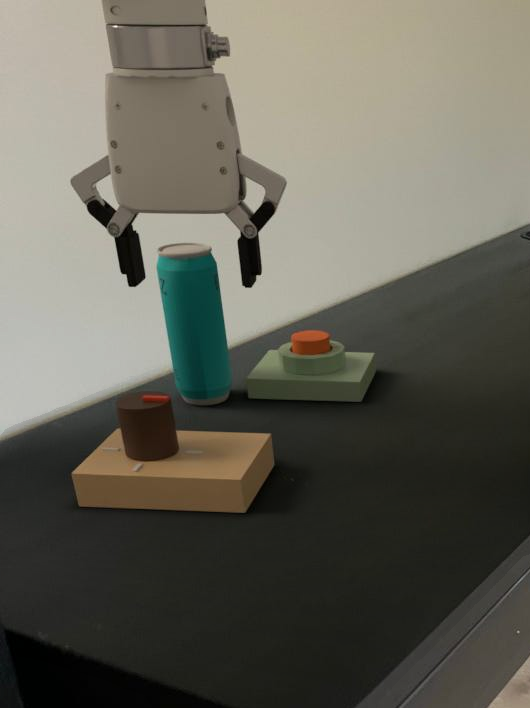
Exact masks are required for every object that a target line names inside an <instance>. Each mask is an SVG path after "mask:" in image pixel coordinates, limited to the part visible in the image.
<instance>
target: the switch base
mask: <svg viewBox="0 0 530 708" xmlns="http://www.w3.org/2000/svg"><path fill="white" fill-rule="evenodd" d="M376 364H377V363H376V353H375V352H360V351H358V352H357V351H346V347H345V345H344V344H342V343H341V342H339V341H335V340H331V339H330V352H327V353H324V354H317V355H300V354H295V353H293V350H292V341H290V342H287V343H284V344H281V345H280V347H279V348H278V349H269V350H268V351H267V353H266V354H265V355H264V356H263V357H262V358H261V360H260V361H259V362H258V363H257V364H256V365H255V367H254V368H253V369H252V371H251V372H250V373H249V374H248V376H247V377H246V378H245V381H246V390H247V397H248V399H252V400H257V399H258V400H287V401H317V402H318V401H319V402H347V403H349V402H350V403H361V402H362V401H363V399H364V397H365V395H366V393H367V391H368V389H369V386H370V384H371V383H372V381H373V380H374V379H373V378H374V376H375V375H376V372H377V368H376V367H377V366H376Z"/></svg>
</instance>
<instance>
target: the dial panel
mask: <svg viewBox="0 0 530 708" xmlns="http://www.w3.org/2000/svg"><path fill="white" fill-rule="evenodd" d="M176 432H177V438H178V444H179V451H178V452H177V453H176V454H174V455H173V456H170V457H168V458H165V459H160V460H154V461H138V460H133V459H130V458H128V457H127V456H126V454H125V449H124V444H123V439H122V434H121V429H120V428H116V429H115V430H114V431H113V432H112V433H111V434H110V435H109V436H108V437H107V438H106V439H105V440H104V441H103V442H102V443H101V444H100V445H99V446H98V447H96V449H94V450H93V452H92V453H90V454H89V456H88V457H86V458H85V459H84V460H83V461H82V462H81V464H79V465H78V466H77V467H76V468H75V469H74V470H73V471H72V472H71V479H72V482H73V487H74V490H75V494H76V495H75V496H76V499H77V504H78V507H83V508H105V509H106V508H107V509H130V510H131V509H133V510H158V511H159V510H160V511H161V510H162V511H181V512H182V511H185V512H212V513H215V512H216V513H238V514H244V513H247V511H248V509H249V507H250V506H251V504H252V503H253V501H254V499H255V498H256V496H257V494H258V493H259V491H260V490H261V488H262V486H263V485H264V483H265V482H266V480H267V478H268V477H269V474H270V473H271V472H272V470H273V469H274V467H275V457H274V447H273V439H272V433H264V432H263V433H261V432H233V431H232V432H231V431H229V432H228V431H203V430H202V431H199V430H176Z"/></svg>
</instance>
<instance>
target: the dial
mask: <svg viewBox="0 0 530 708" xmlns="http://www.w3.org/2000/svg"><path fill="white" fill-rule="evenodd" d="M114 404H115V409H116V414H117V418H118V424H119V429H121V434H122V439H123V444H124V449H125V454H126V456H127V457H128V458H130V459H133V460H138V461H154V460H160V459H165V458H168V457H170V456H173V455H174V454H176V453H177V452H178V451H179V444H178V438H177V432H176V431H177V427H176V426H177V425H176V421H175V415H174V410H173V402H172V397H171V395H169V394H168V393H166V392H163V391H158V390H144V391H134V392H131V393H127V394H124V395H121V396H119V397H118V398H117V399H116V400H115V403H114Z"/></svg>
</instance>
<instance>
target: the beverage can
mask: <svg viewBox="0 0 530 708" xmlns="http://www.w3.org/2000/svg"><path fill="white" fill-rule="evenodd" d="M212 252H213V248H212V246H211V245H209V244H206V243H201V242H178V243H177V242H176V243H170V244H165V245H162V246H159V247H158V248H157V249H156V253H157V254H158V258H157V262H156V266H155V268H156V274H157V279H158V286H159V291H160V298H161V304H162V310H163V316H164V322H165V328H166V335H167V341H168V347H169V353H170V358H171V366H172V371H173V377H174V383H175V386H176V388H177V390H178V392H179V394H180V395H181V398H182V399H183V401H185V403H187V404H190V405H193V406H213V405H218V404H221V403H223V402H225V401H227V399H228V398H229V396H230V393H231V389H232V384H233V376H232V367H231V362H230V354H229V346H228V338H227V330H226V325H225V324H226V323H225V316H224V309H223V301H222V292H221V285H220V277H219V271H218V269H219V268H218V263H217V261H216V259H215V257H214V255H213V253H212Z"/></svg>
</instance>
